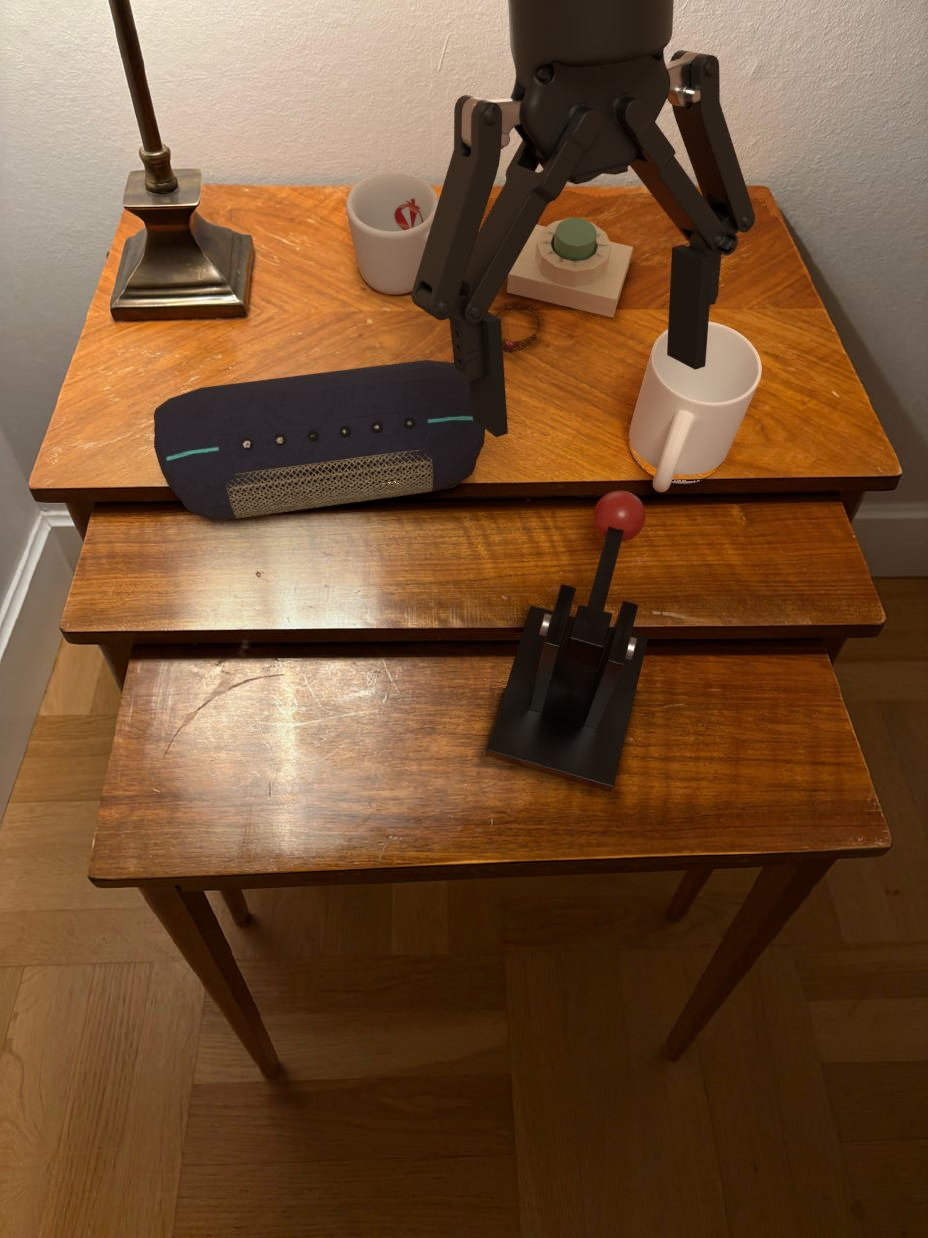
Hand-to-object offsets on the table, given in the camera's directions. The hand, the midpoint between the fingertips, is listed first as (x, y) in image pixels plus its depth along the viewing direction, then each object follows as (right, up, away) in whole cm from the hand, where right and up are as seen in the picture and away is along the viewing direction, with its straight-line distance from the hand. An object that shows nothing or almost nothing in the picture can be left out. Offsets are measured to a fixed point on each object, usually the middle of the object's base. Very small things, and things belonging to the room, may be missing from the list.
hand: (591, 392), depth 57 cm
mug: (+10, 0, +24) cm, 26 cm away
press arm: (+2, -11, +10) cm, 15 cm away
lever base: (0, -19, +14) cm, 23 cm away
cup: (-13, +18, +33) cm, 40 cm away
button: (+2, +20, +30) cm, 37 cm away
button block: (+2, +18, +34) cm, 38 cm away
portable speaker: (-18, -2, +23) cm, 29 cm away
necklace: (-3, +12, +30) cm, 33 cm away
